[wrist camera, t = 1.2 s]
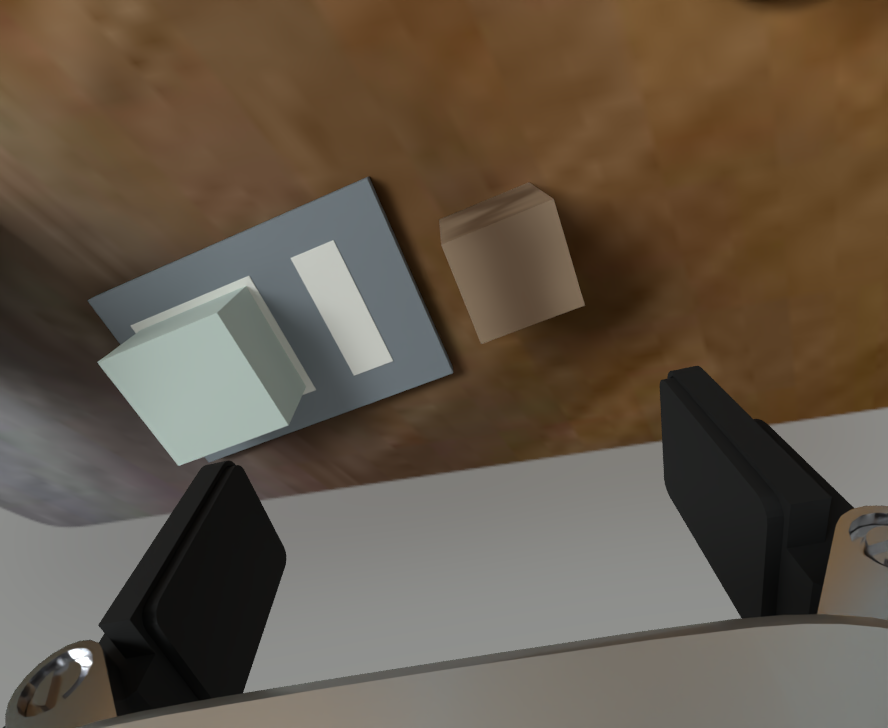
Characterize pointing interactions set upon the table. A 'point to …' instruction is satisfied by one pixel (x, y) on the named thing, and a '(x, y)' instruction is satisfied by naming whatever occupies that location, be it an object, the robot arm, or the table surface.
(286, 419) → the base block
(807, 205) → the table surface
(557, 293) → the walnut block
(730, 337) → the table surface
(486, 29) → the table surface
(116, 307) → the board
